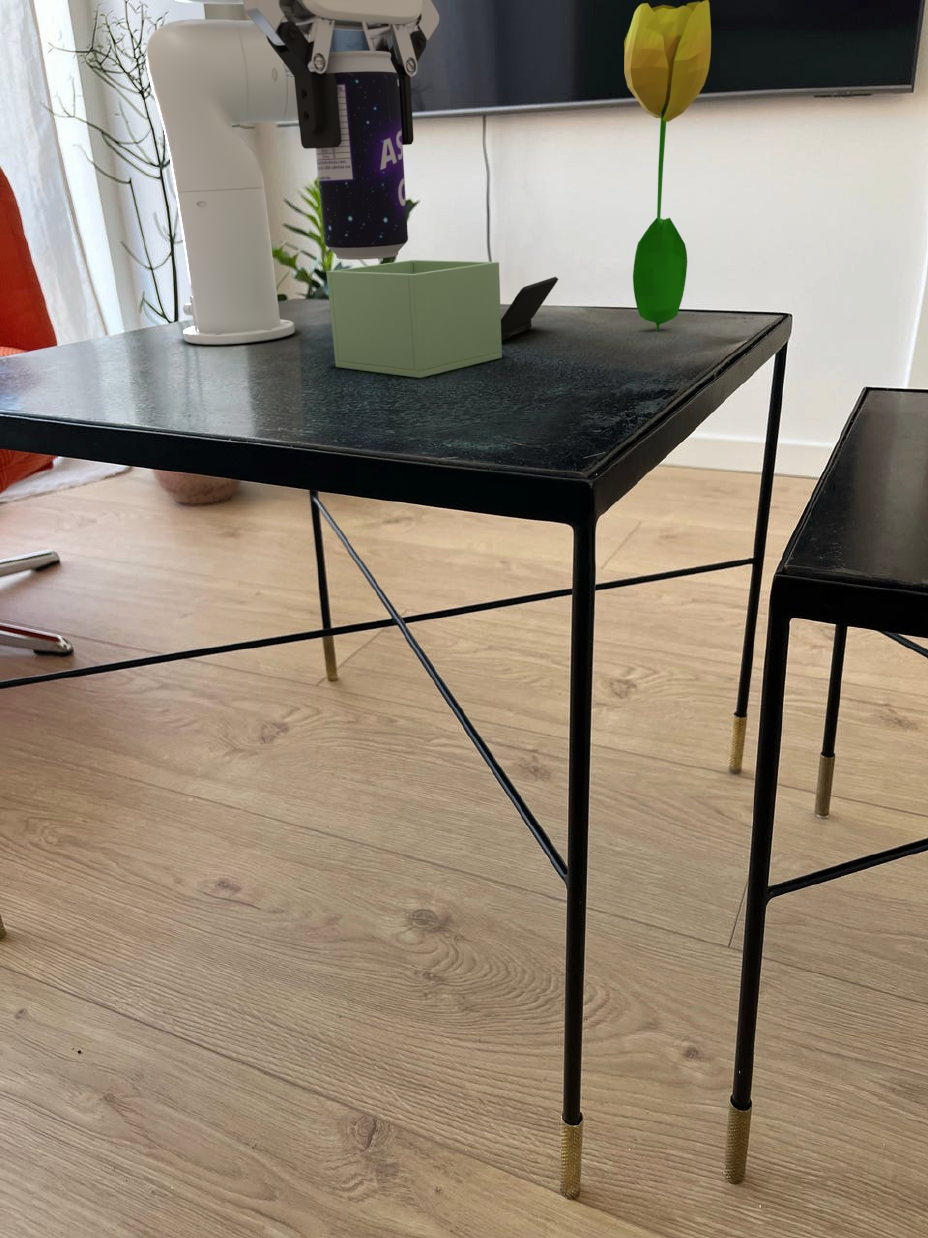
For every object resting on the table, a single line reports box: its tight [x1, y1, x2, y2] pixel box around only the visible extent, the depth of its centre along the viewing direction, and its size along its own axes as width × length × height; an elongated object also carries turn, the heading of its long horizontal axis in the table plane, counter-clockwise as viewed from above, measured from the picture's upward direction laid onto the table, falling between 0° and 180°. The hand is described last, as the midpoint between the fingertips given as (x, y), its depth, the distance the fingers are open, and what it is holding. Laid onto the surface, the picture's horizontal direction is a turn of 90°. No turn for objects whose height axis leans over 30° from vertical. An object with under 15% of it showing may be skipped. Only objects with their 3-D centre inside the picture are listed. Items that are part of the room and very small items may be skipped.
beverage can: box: [315, 50, 409, 261], centre depth 64 cm, size 6×6×12 cm
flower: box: [623, 0, 712, 331], centre depth 98 cm, size 9×8×30 cm
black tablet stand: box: [501, 276, 559, 342], centre depth 104 cm, size 12×7×10 cm
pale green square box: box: [325, 259, 503, 379], centre depth 91 cm, size 11×11×9 cm
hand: (358, 143), depth 64 cm, fingers closed on beverage can, 5 cm apart
